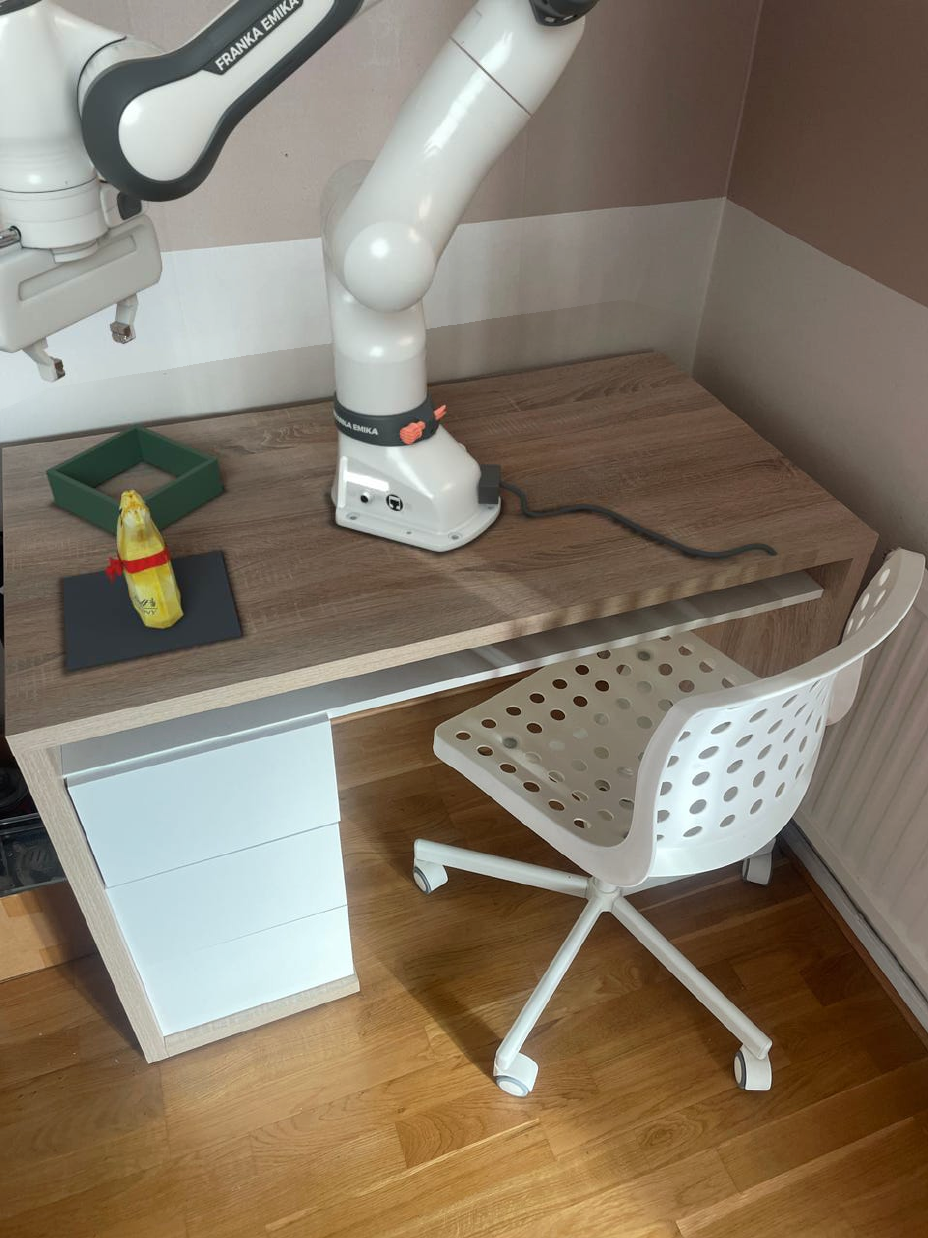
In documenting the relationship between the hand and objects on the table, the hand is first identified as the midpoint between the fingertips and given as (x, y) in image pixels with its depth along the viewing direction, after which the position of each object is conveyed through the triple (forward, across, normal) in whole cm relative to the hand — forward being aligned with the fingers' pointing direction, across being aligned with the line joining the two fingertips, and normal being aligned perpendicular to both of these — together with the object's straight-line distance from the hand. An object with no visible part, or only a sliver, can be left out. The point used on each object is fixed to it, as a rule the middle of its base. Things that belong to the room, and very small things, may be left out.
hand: (90, 358), depth 95 cm
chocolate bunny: (+28, -4, -4) cm, 28 cm away
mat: (+28, -3, -3) cm, 28 cm away
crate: (+28, +13, +13) cm, 33 cm away
